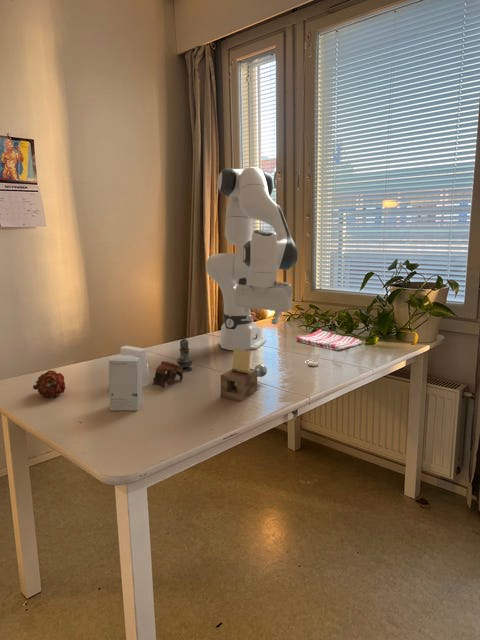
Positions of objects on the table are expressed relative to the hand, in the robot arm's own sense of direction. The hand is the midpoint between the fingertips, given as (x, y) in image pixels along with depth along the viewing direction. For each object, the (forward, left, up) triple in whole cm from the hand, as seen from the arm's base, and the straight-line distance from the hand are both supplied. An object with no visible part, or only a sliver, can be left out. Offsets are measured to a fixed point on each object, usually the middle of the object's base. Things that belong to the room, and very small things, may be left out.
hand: (262, 322), depth 155 cm
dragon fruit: (+47, -48, -19) cm, 70 cm away
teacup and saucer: (-23, +7, -20) cm, 31 cm away
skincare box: (+42, -21, -19) cm, 51 cm away
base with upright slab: (+26, -33, -19) cm, 46 cm away
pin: (+12, +2, -17) cm, 21 cm away
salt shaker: (+6, -28, -19) cm, 35 cm away
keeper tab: (+17, +2, -9) cm, 19 cm away
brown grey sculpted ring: (+20, -24, -20) cm, 37 cm away
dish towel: (-55, +3, -20) cm, 59 cm away
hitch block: (+17, +1, -19) cm, 26 cm away
